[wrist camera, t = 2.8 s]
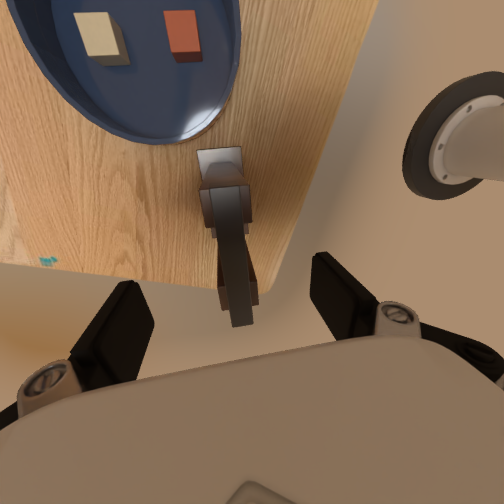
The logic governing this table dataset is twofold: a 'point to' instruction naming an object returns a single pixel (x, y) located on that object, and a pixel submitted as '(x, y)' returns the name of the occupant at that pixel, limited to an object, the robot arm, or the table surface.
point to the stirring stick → (232, 249)
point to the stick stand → (212, 171)
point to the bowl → (137, 65)
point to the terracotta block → (183, 35)
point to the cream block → (102, 38)
